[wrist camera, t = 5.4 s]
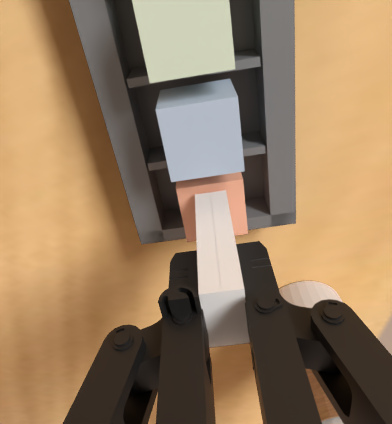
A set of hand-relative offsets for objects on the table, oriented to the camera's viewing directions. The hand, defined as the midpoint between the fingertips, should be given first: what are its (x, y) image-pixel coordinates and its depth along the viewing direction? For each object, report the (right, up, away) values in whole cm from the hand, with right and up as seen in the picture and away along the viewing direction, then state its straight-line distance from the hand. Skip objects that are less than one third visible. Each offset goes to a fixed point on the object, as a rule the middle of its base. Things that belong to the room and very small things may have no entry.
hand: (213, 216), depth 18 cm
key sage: (-1, +8, -3) cm, 9 cm away
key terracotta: (0, +2, +3) cm, 3 cm away
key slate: (-1, +5, -1) cm, 5 cm away
